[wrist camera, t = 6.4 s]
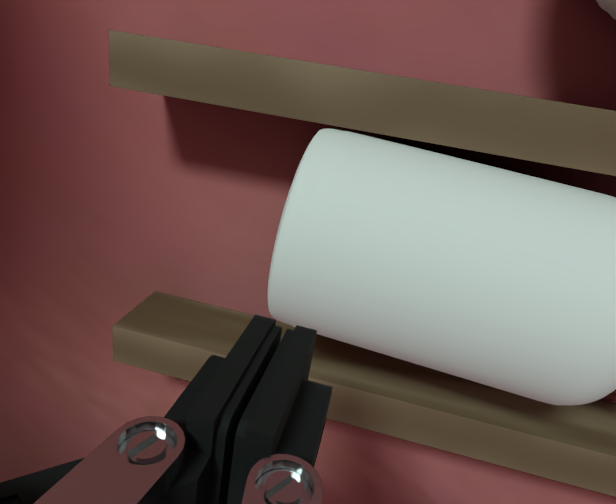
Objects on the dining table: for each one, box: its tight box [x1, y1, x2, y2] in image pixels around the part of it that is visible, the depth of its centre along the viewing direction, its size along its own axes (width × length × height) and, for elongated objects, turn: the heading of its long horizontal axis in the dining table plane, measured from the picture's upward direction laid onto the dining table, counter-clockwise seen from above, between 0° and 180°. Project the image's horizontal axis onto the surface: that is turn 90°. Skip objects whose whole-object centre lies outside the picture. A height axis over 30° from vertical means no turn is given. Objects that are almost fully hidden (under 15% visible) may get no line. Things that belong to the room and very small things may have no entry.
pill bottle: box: [268, 128, 616, 406], centre depth 18 cm, size 8×8×15 cm
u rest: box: [109, 30, 616, 497], centre depth 20 cm, size 15×28×4 cm, turn 82°
